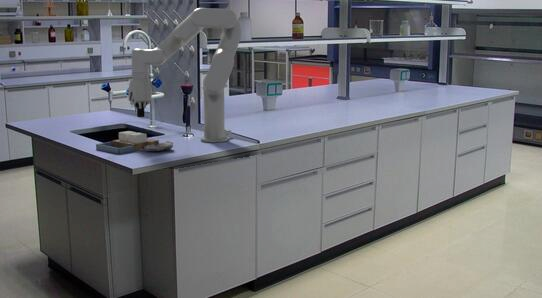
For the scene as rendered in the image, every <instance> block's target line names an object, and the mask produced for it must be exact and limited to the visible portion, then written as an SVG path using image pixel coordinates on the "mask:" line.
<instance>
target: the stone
mask: <svg viewBox="0 0 542 298" xmlns="http://www.w3.org/2000/svg"><path fill="white" fill-rule="evenodd" d="M173 147H174V143H173V142H172V141H167V140H166V141H165V142H162V143H161V142H159V143H158V144H151V145H146V146H145V147H144V148H145V149H144V150H146V151H148V152H160V151H164V150H171V149H172V148H173Z"/></svg>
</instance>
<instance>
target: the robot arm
mask: <svg viewBox="0 0 542 298" xmlns="http://www.w3.org/2000/svg"><path fill="white" fill-rule="evenodd" d="M205 28H206V29H221V37H220V40H219V42H218V46H217V48H216V50H215V52H214V54H213V55H212V59H211V60H212V61H211V64H210V66H209V68H208V71H207V73H206V75H205V76H203V77H204V78H203V80H202V90H203V91H202V92H203V94H202V95H203V135H204V136H202V137H201V138H200V141H201V142H205V143H223V142H227V141H228V140H229V138H228V136H227V135H231V134H232V130H230V129H229V130H226V129H225V88H226V86H227V83H228V80H229V78H230V75H231V74H232V71H233V69H234V65H235V55H236V53H237V51H238V47H239V44H240V41H241V37H242V29H241V25H240V22H239V20H238V18H237V14H236V13H235V11H233V10H232V9H230V8H212V7H211V8H209V7H208V8H207V7H198V8H196V9H194V10H193V11H192V12H191V13H190V14H189V15H188V16H186V18H184V19H183V20H182V21H181V22H180V23H179V24H178V25H177V26H176V27H174V28H173V30H172V31H171V32H170V33H169V35H168V36H167V37H165V39H163V41H161V42H160V43H159V44H158V45H157V46H156V47H155V48H153V49H146V48H132V50H131V79H130V80H129V84H128V97H127V99H128V101H129V104H130V105H132V106H134V107H135V108H136V116H137V118H145V109H146V107H147V106H148V105H149V104H151V101H152V97H153V96H152V95H153V92H152V85H151V84H152V83H151V80H150V77H151V73H150V71H149V70H150V66H154V67H155V66H156V67H159V66H162V65H163V64H165V62H167V61H168V60H169V59H170V58H171V57H172V56H173V55H175V53H176V52H177V51H179V50H180V49H182V48H183V47H185V46H186V45H187V44H189V42H190V41H192V40H193V39H194V38H195V37H196V36H197V35H198V34H199V33H200V32H201V31H203V30H204V29H205Z"/></svg>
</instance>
